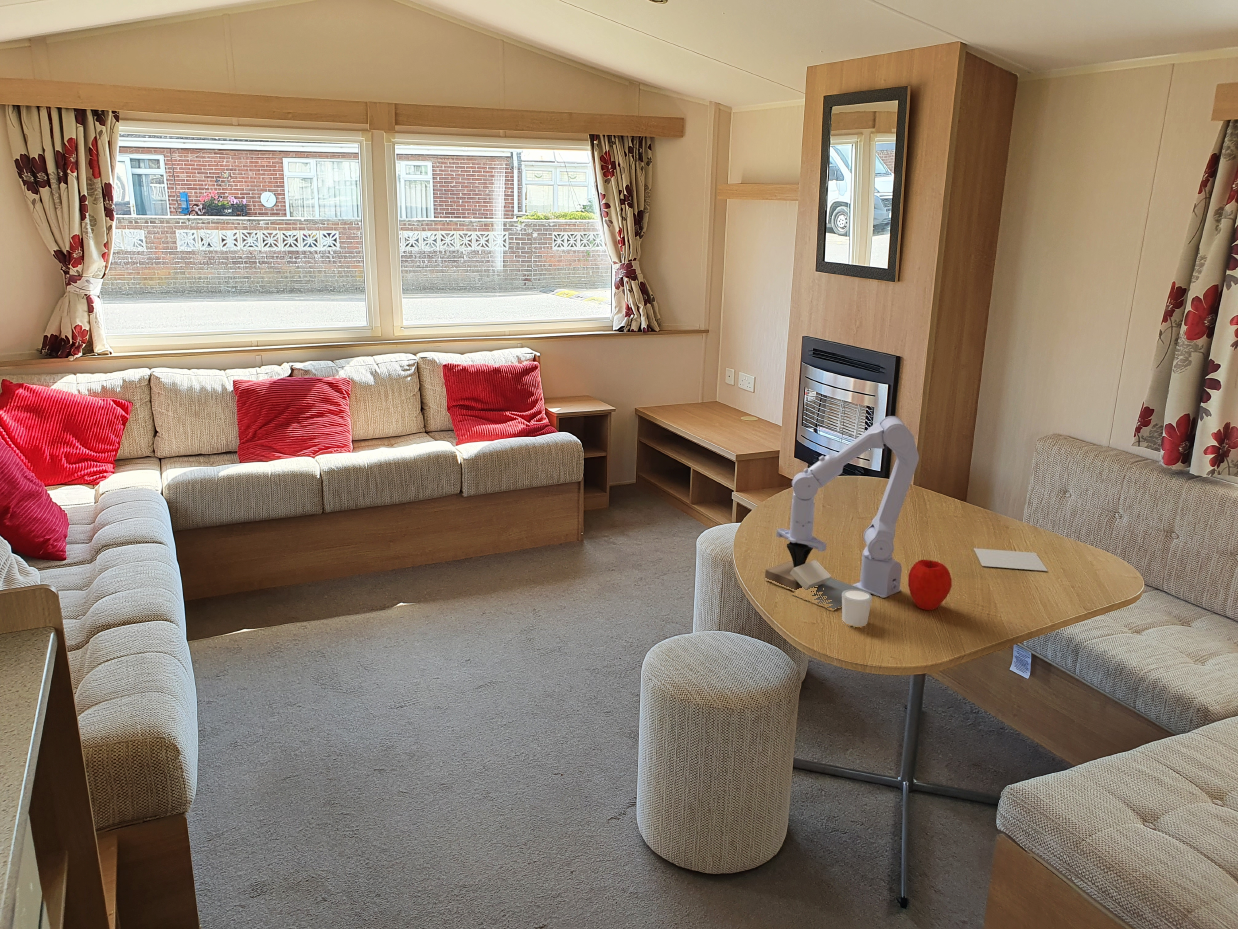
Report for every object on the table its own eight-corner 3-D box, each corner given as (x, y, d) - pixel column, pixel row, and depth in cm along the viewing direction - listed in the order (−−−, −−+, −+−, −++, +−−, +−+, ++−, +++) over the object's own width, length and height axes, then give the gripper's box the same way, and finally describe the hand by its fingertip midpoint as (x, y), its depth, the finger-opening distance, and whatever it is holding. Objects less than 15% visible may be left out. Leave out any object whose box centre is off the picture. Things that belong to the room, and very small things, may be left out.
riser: (819, 582, 235) (820, 572, 234) (795, 592, 228) (795, 581, 228) (789, 571, 242) (790, 560, 241) (764, 580, 236) (765, 569, 235)
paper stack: (1056, 586, 235) (1057, 584, 234) (955, 578, 239) (955, 576, 239) (1035, 555, 257) (1035, 552, 257) (942, 548, 261) (943, 545, 261)
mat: (871, 594, 228) (871, 592, 227) (832, 611, 218) (832, 609, 217) (830, 579, 237) (830, 577, 237) (791, 594, 227) (791, 593, 227)
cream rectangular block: (828, 581, 232) (831, 576, 231) (805, 590, 226) (809, 585, 225) (812, 565, 235) (815, 559, 234) (789, 573, 229) (793, 568, 228)
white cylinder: (864, 616, 215) (867, 588, 213) (873, 628, 209) (876, 600, 207) (836, 616, 215) (838, 588, 213) (844, 629, 208) (846, 600, 207)
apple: (952, 604, 222) (957, 558, 219) (943, 619, 214) (949, 571, 211) (910, 595, 227) (915, 550, 224) (901, 609, 219) (905, 562, 216)
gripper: (769, 515, 232) (766, 565, 236) (815, 530, 221) (811, 582, 225) (787, 510, 237) (784, 559, 240) (832, 524, 226) (829, 575, 229)
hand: (798, 570), depth 233 cm, fingers closed
